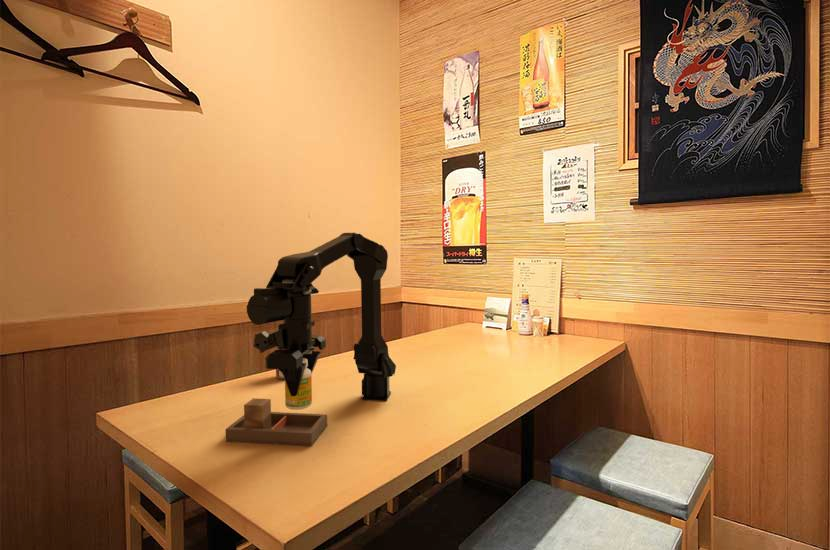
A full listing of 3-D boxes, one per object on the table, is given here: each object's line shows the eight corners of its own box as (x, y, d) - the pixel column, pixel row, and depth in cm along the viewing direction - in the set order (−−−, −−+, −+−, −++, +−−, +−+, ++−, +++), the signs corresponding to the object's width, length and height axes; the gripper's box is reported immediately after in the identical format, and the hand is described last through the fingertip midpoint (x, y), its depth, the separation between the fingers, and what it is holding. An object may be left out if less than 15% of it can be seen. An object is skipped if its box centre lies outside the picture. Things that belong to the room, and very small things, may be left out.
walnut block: (271, 426, 98) (270, 399, 97) (263, 433, 94) (262, 405, 93) (253, 425, 98) (252, 398, 98) (244, 433, 94) (243, 404, 94)
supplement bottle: (298, 412, 91) (297, 365, 90) (279, 407, 94) (278, 361, 93) (317, 403, 95) (316, 358, 94) (299, 399, 98) (298, 355, 97)
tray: (327, 426, 99) (327, 414, 99) (311, 446, 89) (311, 433, 89) (249, 422, 101) (249, 410, 101) (225, 441, 91) (225, 429, 91)
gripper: (278, 309, 103) (280, 376, 104) (237, 324, 85) (240, 405, 86) (325, 310, 102) (327, 378, 103) (294, 325, 83) (296, 408, 85)
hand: (299, 391), depth 94 cm, fingers closed on supplement bottle, 5 cm apart
